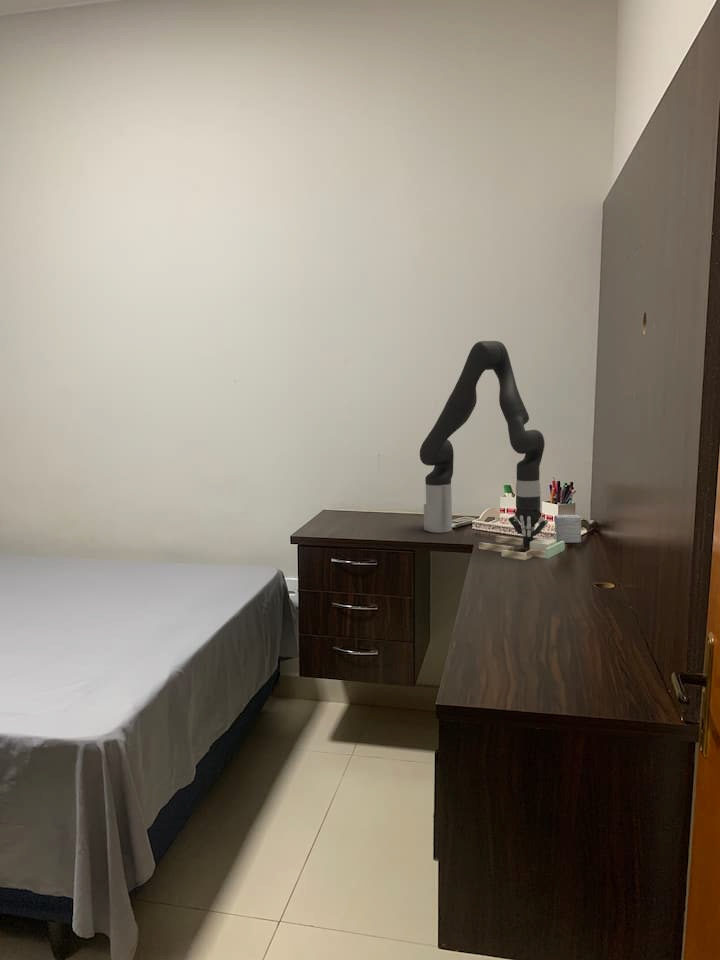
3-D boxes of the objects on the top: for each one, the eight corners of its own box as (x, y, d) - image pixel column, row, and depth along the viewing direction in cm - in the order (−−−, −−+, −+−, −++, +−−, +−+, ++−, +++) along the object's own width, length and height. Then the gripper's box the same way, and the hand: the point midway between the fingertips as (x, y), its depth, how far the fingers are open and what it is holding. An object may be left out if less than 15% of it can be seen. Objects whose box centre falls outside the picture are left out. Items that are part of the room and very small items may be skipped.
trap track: (470, 552, 235) (470, 543, 235) (504, 538, 252) (504, 529, 251) (540, 562, 220) (540, 552, 220) (571, 547, 237) (571, 537, 236)
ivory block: (529, 554, 231) (529, 542, 230) (538, 550, 235) (538, 538, 234) (547, 557, 227) (547, 544, 226) (556, 552, 231) (556, 540, 231)
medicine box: (578, 539, 246) (578, 514, 245) (581, 543, 242) (581, 517, 240) (554, 540, 247) (554, 514, 246) (556, 543, 242) (556, 517, 241)
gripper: (503, 494, 233) (503, 547, 236) (542, 497, 225) (542, 552, 227) (514, 490, 239) (514, 542, 241) (552, 493, 230) (552, 547, 233)
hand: (528, 547), depth 234 cm, fingers closed
